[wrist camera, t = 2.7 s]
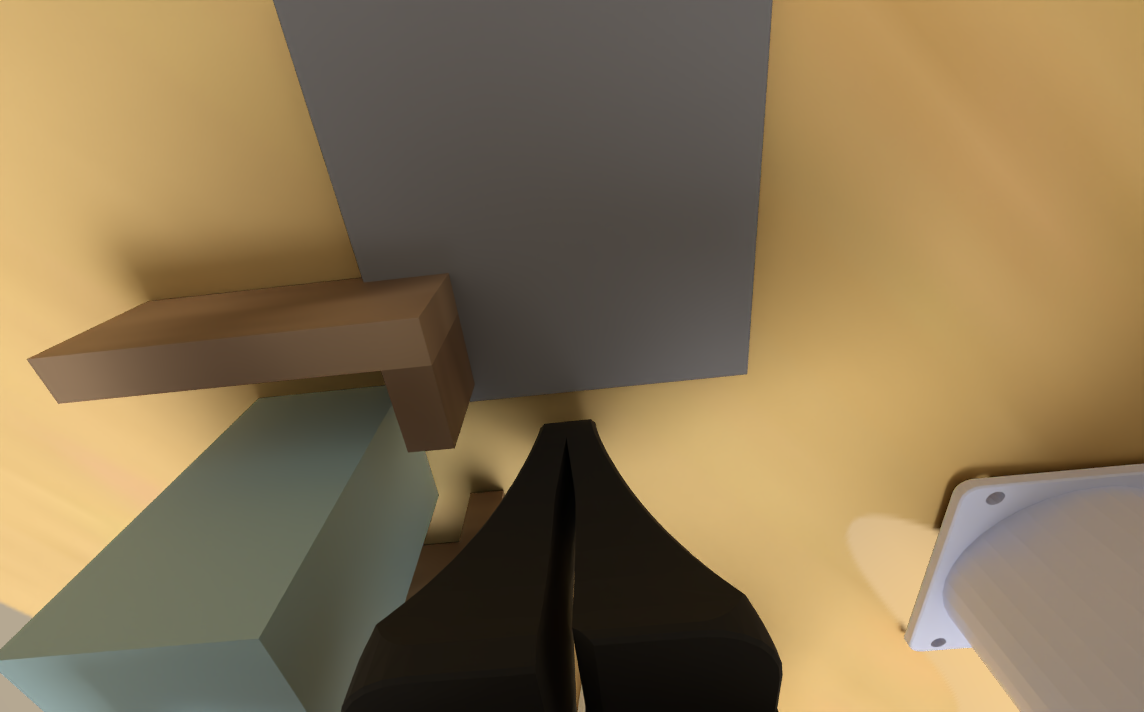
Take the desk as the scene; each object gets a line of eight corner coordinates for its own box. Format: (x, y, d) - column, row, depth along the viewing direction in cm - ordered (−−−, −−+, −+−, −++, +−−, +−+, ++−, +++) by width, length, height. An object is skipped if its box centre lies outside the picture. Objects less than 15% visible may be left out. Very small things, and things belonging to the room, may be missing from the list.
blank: (403, 382, 13) (258, 638, 7) (438, 495, 15) (349, 776, 9) (258, 398, 13) (-12, 661, 7) (311, 506, 15) (133, 791, 9)
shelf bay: (452, 267, 12) (418, 317, 9) (518, 558, 16) (509, 648, 13) (147, 301, 12) (26, 359, 9) (298, 577, 16) (247, 669, 14)
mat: (769, -70, 9) (777, -78, 8) (742, 366, 13) (746, 374, 13) (281, -6, 9) (269, -11, 9) (408, 400, 13) (403, 408, 13)
